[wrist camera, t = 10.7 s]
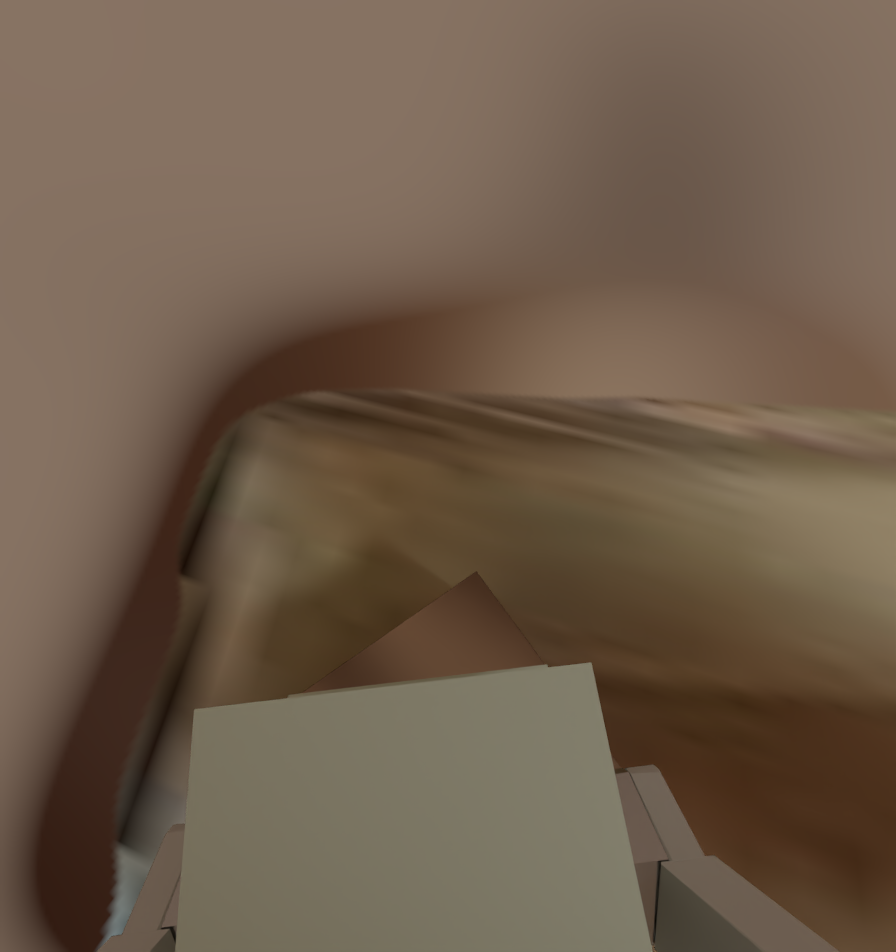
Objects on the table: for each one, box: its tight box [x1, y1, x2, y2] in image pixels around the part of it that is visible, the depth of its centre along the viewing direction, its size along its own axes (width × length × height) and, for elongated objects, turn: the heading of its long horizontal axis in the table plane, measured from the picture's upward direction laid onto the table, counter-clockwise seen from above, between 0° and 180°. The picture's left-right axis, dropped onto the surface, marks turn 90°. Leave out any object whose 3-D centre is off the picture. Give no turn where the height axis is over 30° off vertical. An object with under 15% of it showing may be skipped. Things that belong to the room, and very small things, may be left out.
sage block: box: [175, 662, 653, 952], centre depth 9 cm, size 6×6×8 cm
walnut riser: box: [302, 571, 621, 769], centre depth 23 cm, size 12×12×6 cm
